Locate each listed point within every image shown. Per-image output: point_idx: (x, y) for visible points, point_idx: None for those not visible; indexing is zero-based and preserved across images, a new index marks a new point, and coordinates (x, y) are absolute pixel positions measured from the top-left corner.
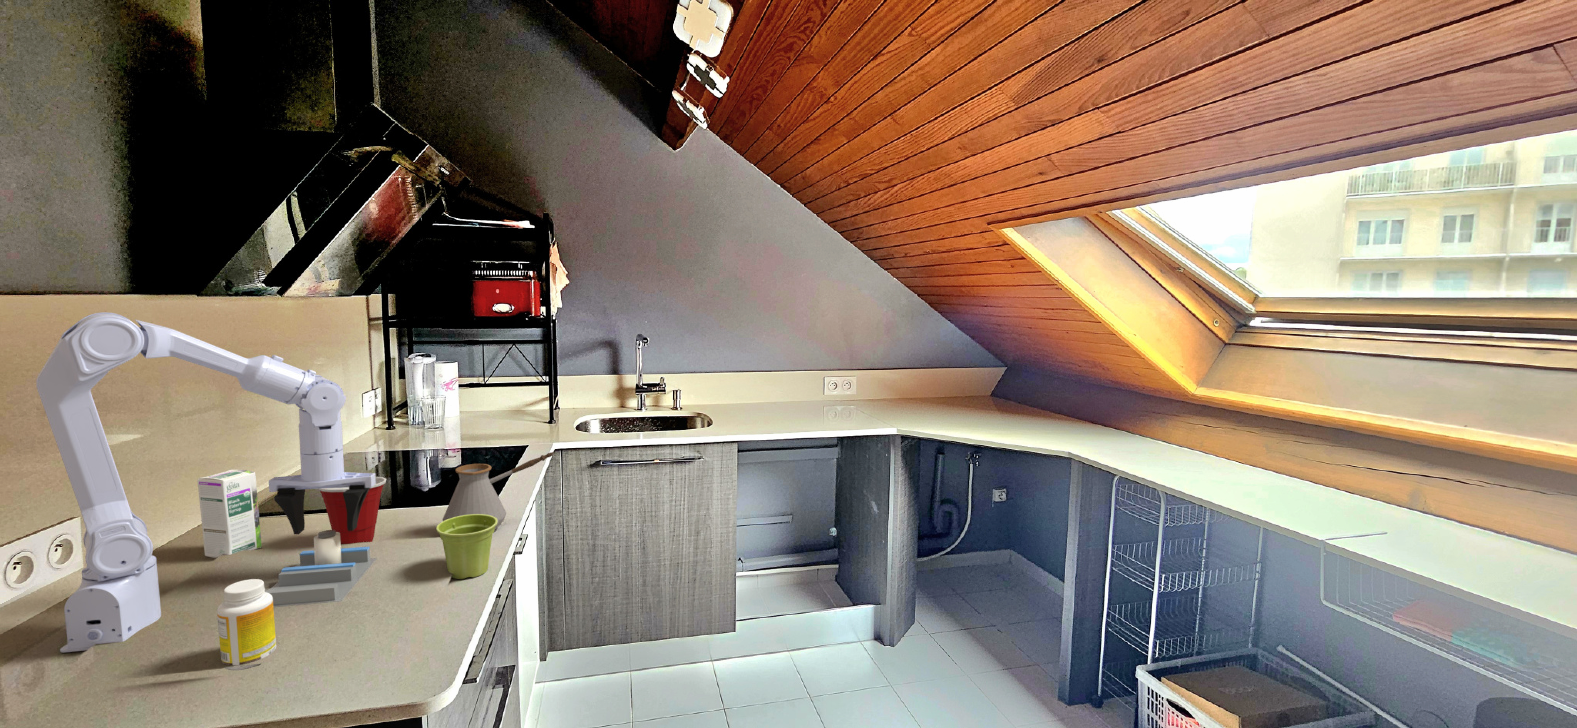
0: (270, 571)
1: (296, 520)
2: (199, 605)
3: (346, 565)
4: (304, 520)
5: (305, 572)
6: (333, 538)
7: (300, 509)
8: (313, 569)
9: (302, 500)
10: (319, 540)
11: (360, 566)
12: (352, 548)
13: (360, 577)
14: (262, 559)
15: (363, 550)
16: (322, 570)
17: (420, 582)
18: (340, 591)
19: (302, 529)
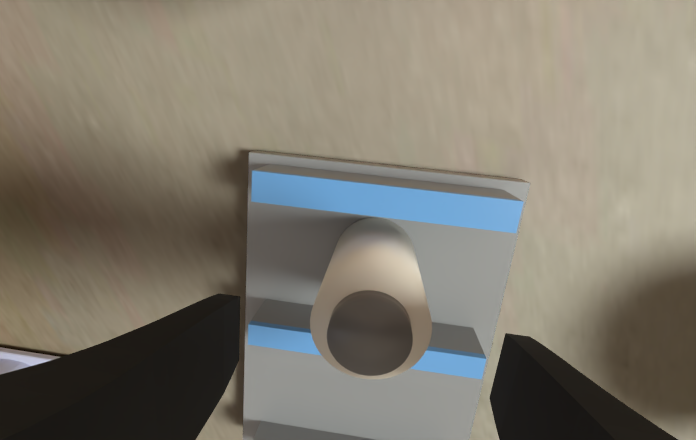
0: (174, 143)
1: (191, 437)
2: (107, 332)
3: (458, 374)
4: (214, 312)
5: (330, 370)
6: (409, 367)
7: (148, 410)
8: None
9: (89, 436)
10: (349, 373)
11: (476, 251)
12: (451, 202)
13: (489, 345)
14: (91, 4)
15: (499, 230)
16: None
17: (666, 387)
18: (446, 422)
19: (236, 323)
